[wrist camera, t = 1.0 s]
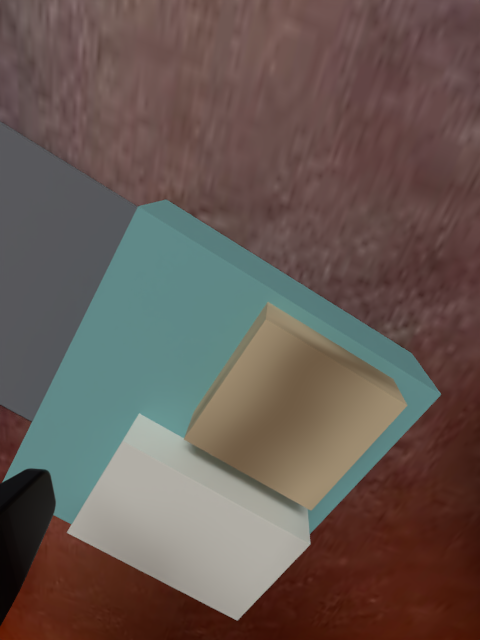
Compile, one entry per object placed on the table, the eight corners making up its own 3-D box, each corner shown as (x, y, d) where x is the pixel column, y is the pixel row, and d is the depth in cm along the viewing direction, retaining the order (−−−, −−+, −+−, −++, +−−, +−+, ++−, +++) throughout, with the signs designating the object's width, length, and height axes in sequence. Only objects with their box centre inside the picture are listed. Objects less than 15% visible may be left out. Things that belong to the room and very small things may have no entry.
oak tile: (393, 378, 16) (407, 405, 15) (307, 476, 18) (311, 510, 17) (267, 301, 16) (266, 319, 14) (193, 411, 18) (183, 439, 16)
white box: (307, 507, 19) (310, 544, 17) (241, 581, 21) (237, 620, 19) (139, 413, 18) (122, 441, 16) (86, 499, 20) (66, 532, 18)
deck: (411, 353, 20) (441, 394, 17) (243, 546, 26) (237, 610, 22) (166, 199, 19) (137, 206, 15) (43, 438, 24) (0, 487, 20)
